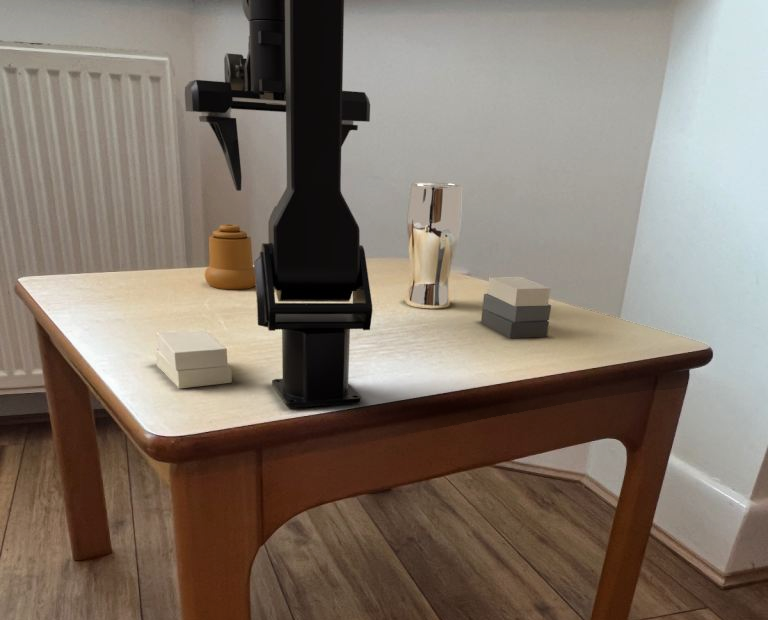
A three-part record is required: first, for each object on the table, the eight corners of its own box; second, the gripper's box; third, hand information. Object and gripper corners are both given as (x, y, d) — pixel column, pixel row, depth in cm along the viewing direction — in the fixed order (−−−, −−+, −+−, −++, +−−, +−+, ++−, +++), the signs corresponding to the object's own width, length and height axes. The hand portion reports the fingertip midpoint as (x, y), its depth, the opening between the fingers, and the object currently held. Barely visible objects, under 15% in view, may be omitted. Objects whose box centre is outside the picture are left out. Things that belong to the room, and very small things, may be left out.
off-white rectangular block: (548, 305, 87) (550, 288, 86) (514, 306, 85) (517, 288, 84) (518, 293, 93) (520, 276, 92) (487, 294, 91) (489, 277, 90)
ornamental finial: (267, 283, 108) (243, 292, 102) (221, 278, 110) (195, 286, 104) (266, 225, 105) (241, 230, 98) (218, 220, 107) (191, 225, 100)
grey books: (548, 336, 88) (553, 306, 87) (509, 338, 87) (513, 307, 85) (516, 321, 95) (520, 292, 93) (479, 322, 93) (482, 293, 92)
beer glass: (393, 304, 100) (400, 182, 93) (415, 296, 106) (423, 181, 99) (440, 312, 97) (451, 187, 90) (460, 303, 103) (472, 185, 96)
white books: (232, 383, 67) (231, 348, 66) (178, 389, 65) (175, 353, 63) (206, 360, 73) (204, 328, 71) (155, 365, 70) (152, 332, 69)
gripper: (340, 39, 85) (338, 187, 92) (173, 22, 79) (183, 183, 86) (374, 30, 76) (368, 196, 83) (187, 10, 69) (198, 192, 77)
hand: (279, 191), depth 82 cm, fingers open, 9 cm apart
